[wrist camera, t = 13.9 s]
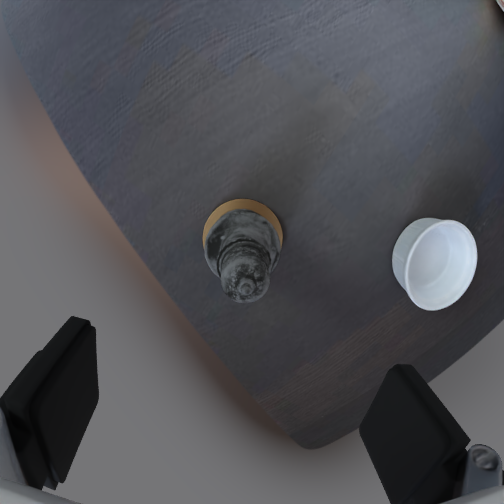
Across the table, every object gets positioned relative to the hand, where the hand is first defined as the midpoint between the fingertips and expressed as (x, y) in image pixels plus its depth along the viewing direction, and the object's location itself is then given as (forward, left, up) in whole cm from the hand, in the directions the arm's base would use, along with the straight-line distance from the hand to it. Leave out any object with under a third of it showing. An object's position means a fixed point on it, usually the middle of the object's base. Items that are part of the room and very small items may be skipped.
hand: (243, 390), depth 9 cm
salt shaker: (0, 0, -20) cm, 20 cm away
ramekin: (+19, +2, -21) cm, 28 cm away
